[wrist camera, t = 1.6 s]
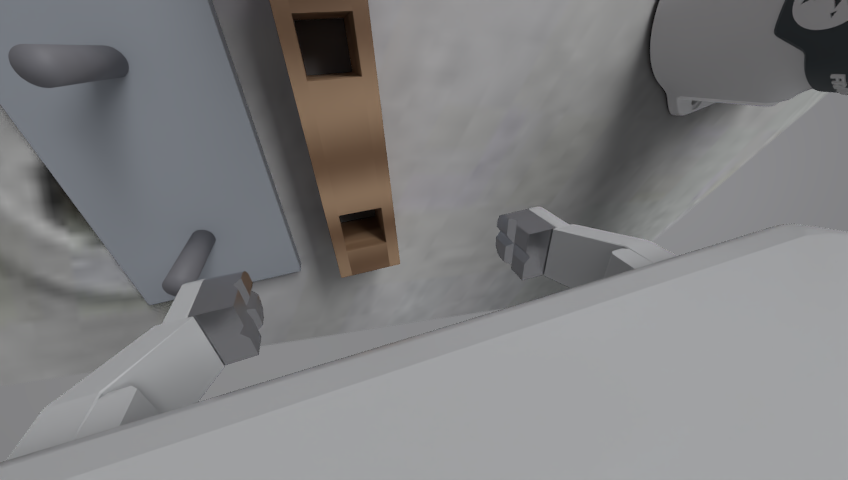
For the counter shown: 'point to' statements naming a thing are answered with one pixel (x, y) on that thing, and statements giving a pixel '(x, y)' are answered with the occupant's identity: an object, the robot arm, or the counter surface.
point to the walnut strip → (344, 134)
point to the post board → (146, 136)
